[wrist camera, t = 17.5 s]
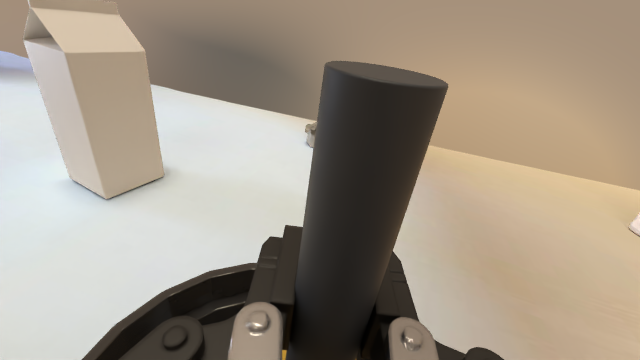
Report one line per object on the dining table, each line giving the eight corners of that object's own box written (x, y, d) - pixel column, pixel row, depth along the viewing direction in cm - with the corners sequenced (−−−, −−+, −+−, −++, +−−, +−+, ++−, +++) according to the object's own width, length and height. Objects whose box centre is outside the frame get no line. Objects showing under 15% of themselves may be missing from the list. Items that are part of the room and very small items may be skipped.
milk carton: (165, 177, 37) (138, 6, 28) (106, 201, 31) (48, -4, 22) (130, 160, 39) (95, -2, 30) (69, 179, 34) (4, -12, 25)
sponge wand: (339, 582, 11) (686, 166, 2) (225, 560, 11) (179, 85, 3) (343, 383, 17) (446, 67, 9) (269, 370, 17) (299, 44, 9)
